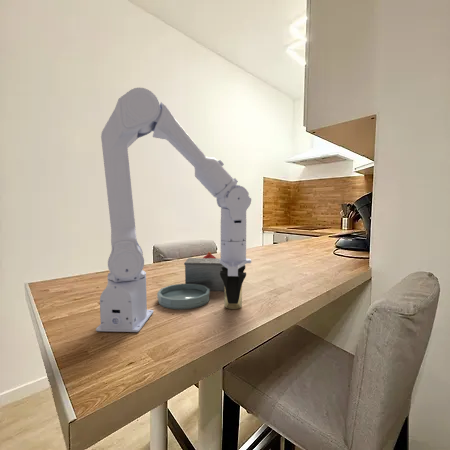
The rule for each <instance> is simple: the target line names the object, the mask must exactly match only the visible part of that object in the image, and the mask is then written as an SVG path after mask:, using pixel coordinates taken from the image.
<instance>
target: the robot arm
mask: <svg viewBox="0 0 450 450" xmlns="http://www.w3.org/2000/svg"><path fill="white" fill-rule="evenodd" d="M152 132H153V133H152ZM151 133H152V137H153V138H155V139H161V140H166V141H168V143H169V144H170V145H171V146H172V147H173V148H175V150H177V151H178V152H179V153H180V154H181V155H182V157H184V158H185V160H187V161H188V163H190V165H191V166H193V167H194V177H195V178H196V179H197V180H198V181H199V183H200V184H201V185H202V186H204V188H205V190H207V191H208V192H209V193H210V194H211V195H212V196H213V197H214V198H216V204H217V206H218V207H219V208H220V258H221V259H220V264H222V267H221V268H222V270H223V271H220V276H221V278H222V280H223V283H224V286H225V290H226V295H227V300H228V303H229V304H238V301H239V296H240V290H241V286H242V287H243V283H244V280H245V278H246V277H247V272H245V270H246V264H251V263H252V259H251V258H247V211H248V209H249V208H250V205H251V204H252V203H251V202H252V197H250V196H249V195H250V194H249V192H248V190H247V189H246V188H245V187H244V186H241V185H240V184H238V179H237V178H236V177H234V178H233V176H231V174H229V172H228V171H227V170H226V169H225V168H224V162H223V161H222V160H221V159H216V158H215V157H212V156H211V157H209V156H206V155H205V154H204V152H203V151H202V150H201V149H200V148H199V146H198V145H197V143H195V141H194V140H193V139H192V138H191V136H190V135H189V134H188V133H187V132H186V130H185V129H184V128H183V126H182V125H181V124H180V122H179V121H178V120H177V119H176V118H175V116H174V115H173V113H172V111H170V109H169V107H167V105H165V104H164V103H163V102H162V101H159V99H158V97H157V96H156V95H155V94H154V93H153V91H151V90H149V89H147V88H145V87H134V88H131V89H129V90H128V91H127V92H125V94H123V95H122V96H120V97H119V98H118V100H117V101H116V104H115V107H114V109H113V111H112V113H111V114H110V117H109V118H108V120H107V122H106V124H105V125H104V128H103V129H102V131H101V134H100V135H101V136H100V138H101V147H102V155H103V156H102V157H103V165H104V175H105V185H106V186H105V187H106V195H107V203H108V211H109V214H108V215H109V221H110V222H109V224H110V231H111V232H110V246H111V252H110V254H109V256H108V260H107V268H108V270H109V273H107V284H106V287H105V288H104V290H103V291H102V292H101V294H100V296H99V314H100V315H99V317H100V324H99V325H98V326H97V327H96V329H95V331H96V332H112V333H113V332H118V333H119V332H121V333H122V332H123V333H124V332H125V333H126V332H127V333H129V332H130V333H139V331H141V329H142V328H143V327H144V325H145V324H146V323H147V322H148V320H149V318H150V317H151V316H152V314H153V313H154V309H148V307H147V306H148V304H147V300H148V299H147V271H145V270H144V266H145V259H144V258H145V257H144V256H143V255H144V254H143V249H142V247H141V245H140V244H139V243H138V240H137V239H138V238H137V231H136V219H135V210H134V209H135V208H134V199H133V190H132V179H131V178H132V177H131V171H130V162H129V161H130V160H129V148H130V146H132V145H133V144H134V143H135V142H136V141H137V140H138V139H139V138H141V137H145V136H147V135H150V134H151Z"/></svg>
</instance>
